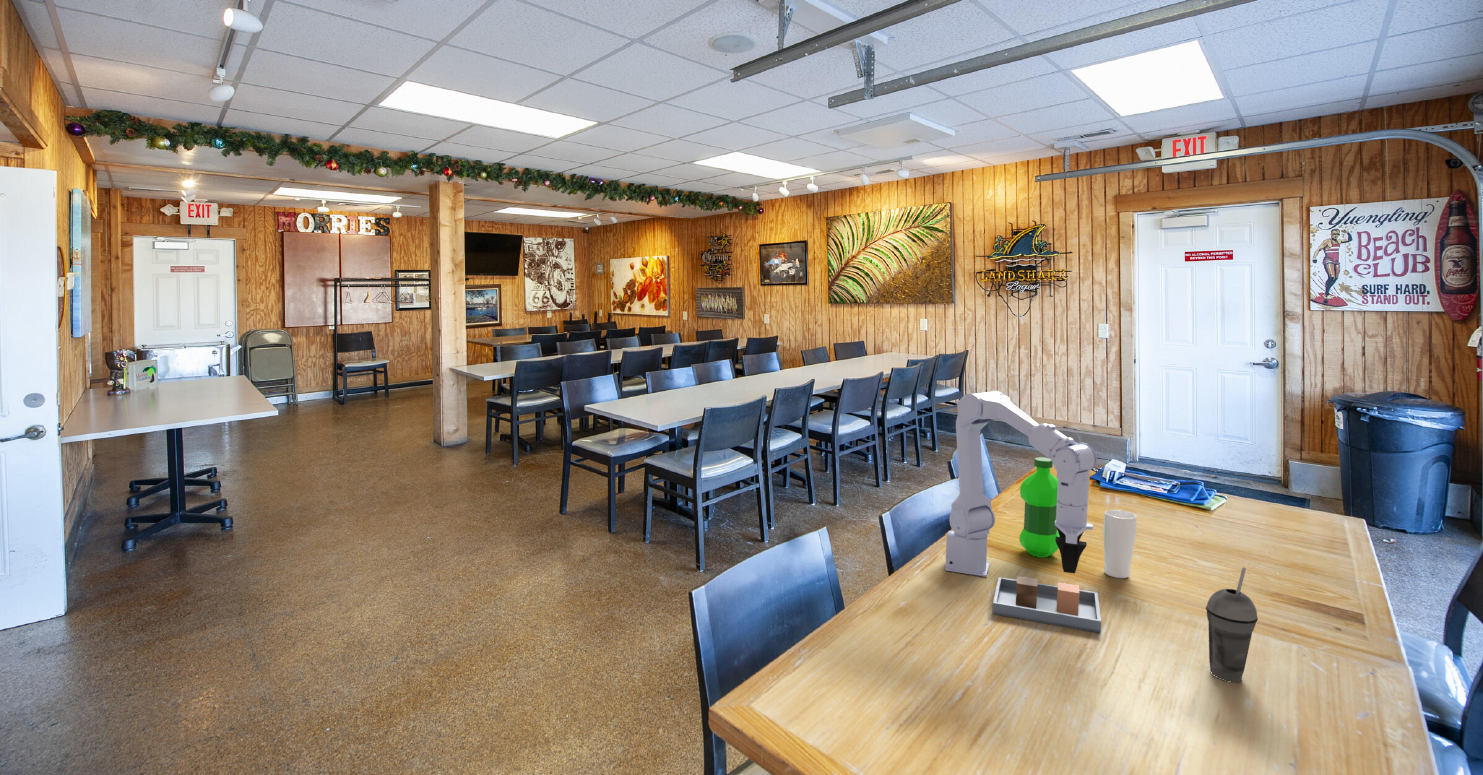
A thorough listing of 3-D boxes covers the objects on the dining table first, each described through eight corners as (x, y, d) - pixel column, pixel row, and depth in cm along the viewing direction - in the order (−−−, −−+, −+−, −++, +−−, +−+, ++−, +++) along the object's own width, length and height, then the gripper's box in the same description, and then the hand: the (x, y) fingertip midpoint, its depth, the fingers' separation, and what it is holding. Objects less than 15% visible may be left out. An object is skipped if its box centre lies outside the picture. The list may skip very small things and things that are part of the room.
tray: (992, 613, 139) (993, 602, 139) (998, 587, 152) (998, 577, 152) (1100, 633, 131) (1101, 621, 131) (1096, 603, 143) (1097, 592, 143)
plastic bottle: (1063, 550, 173) (1068, 457, 170) (1057, 564, 164) (1062, 466, 161) (1022, 543, 178) (1026, 452, 175) (1014, 556, 170) (1018, 461, 166)
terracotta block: (1056, 612, 139) (1057, 589, 138) (1056, 604, 142) (1057, 582, 141) (1078, 616, 137) (1079, 593, 136) (1077, 607, 140) (1078, 585, 140)
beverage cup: (1200, 659, 121) (1209, 554, 118) (1250, 671, 117) (1260, 563, 114) (1200, 678, 115) (1209, 568, 112) (1253, 692, 111) (1264, 578, 108)
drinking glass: (1137, 581, 154) (1141, 519, 152) (1105, 579, 155) (1109, 518, 153) (1126, 569, 160) (1130, 510, 158) (1096, 568, 162) (1100, 508, 160)
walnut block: (1015, 605, 142) (1016, 583, 141) (1016, 597, 146) (1017, 576, 145) (1036, 608, 140) (1037, 586, 140) (1036, 601, 144) (1037, 579, 143)
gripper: (1095, 515, 128) (1092, 582, 130) (1092, 494, 141) (1089, 555, 143) (1055, 510, 131) (1052, 576, 133) (1056, 491, 144) (1053, 550, 146)
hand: (1068, 565), depth 138 cm, fingers open, 7 cm apart
